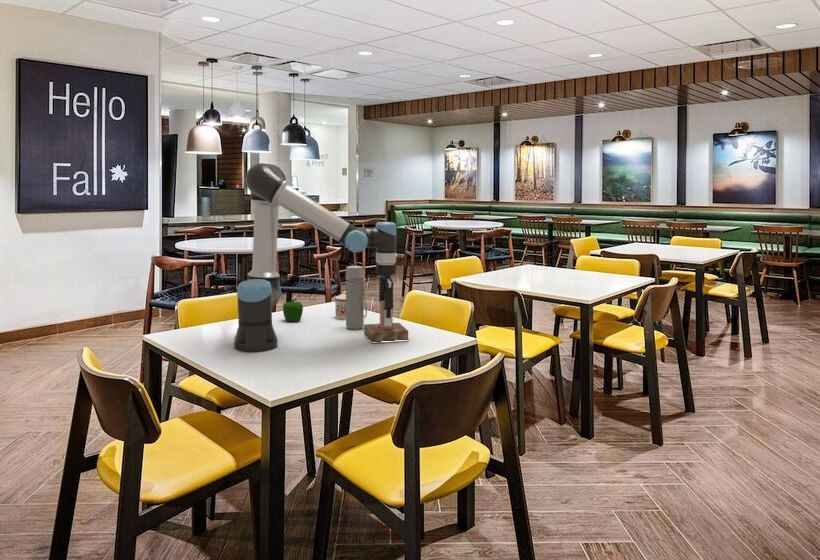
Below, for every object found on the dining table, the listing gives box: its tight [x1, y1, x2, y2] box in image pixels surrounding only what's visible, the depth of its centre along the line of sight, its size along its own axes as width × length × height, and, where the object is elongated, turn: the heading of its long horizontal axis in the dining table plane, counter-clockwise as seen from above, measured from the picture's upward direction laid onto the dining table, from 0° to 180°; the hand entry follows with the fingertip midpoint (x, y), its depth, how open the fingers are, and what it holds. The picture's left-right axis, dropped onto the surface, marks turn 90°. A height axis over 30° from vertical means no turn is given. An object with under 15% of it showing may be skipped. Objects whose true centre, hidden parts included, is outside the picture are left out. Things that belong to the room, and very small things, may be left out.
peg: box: [379, 301, 394, 330], centre depth 235 cm, size 4×4×14 cm
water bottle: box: [345, 265, 368, 330], centre depth 249 cm, size 9×8×25 cm
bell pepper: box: [282, 298, 304, 323], centre depth 263 cm, size 8×8×10 cm
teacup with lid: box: [334, 290, 346, 320], centre depth 270 cm, size 12×9×12 cm
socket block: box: [363, 322, 409, 343], centre depth 236 cm, size 14×14×4 cm
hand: (385, 323), depth 235 cm, fingers open, 6 cm apart
